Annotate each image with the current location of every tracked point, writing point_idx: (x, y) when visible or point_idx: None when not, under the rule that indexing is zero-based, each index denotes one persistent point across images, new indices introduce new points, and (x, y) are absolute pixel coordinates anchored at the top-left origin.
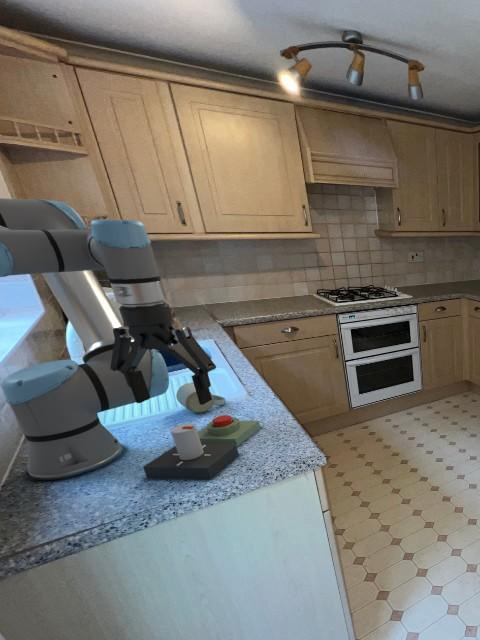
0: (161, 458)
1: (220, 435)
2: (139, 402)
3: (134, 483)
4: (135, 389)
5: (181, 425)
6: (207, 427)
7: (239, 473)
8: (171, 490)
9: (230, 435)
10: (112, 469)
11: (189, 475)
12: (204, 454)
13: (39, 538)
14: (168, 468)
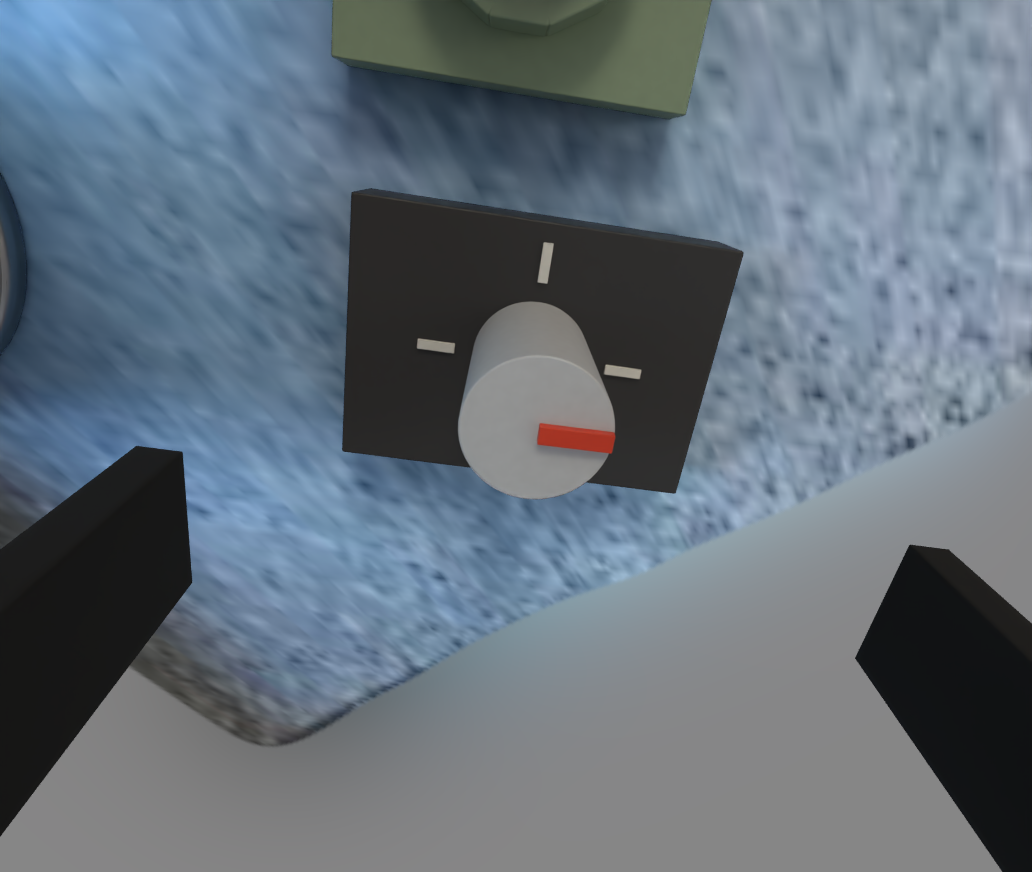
0: (377, 376)
1: (553, 36)
2: (182, 585)
3: (329, 454)
4: (84, 721)
5: (497, 386)
6: None
7: (774, 425)
8: (530, 520)
9: (628, 45)
10: (106, 319)
11: None
12: (598, 358)
13: (276, 708)
14: None
